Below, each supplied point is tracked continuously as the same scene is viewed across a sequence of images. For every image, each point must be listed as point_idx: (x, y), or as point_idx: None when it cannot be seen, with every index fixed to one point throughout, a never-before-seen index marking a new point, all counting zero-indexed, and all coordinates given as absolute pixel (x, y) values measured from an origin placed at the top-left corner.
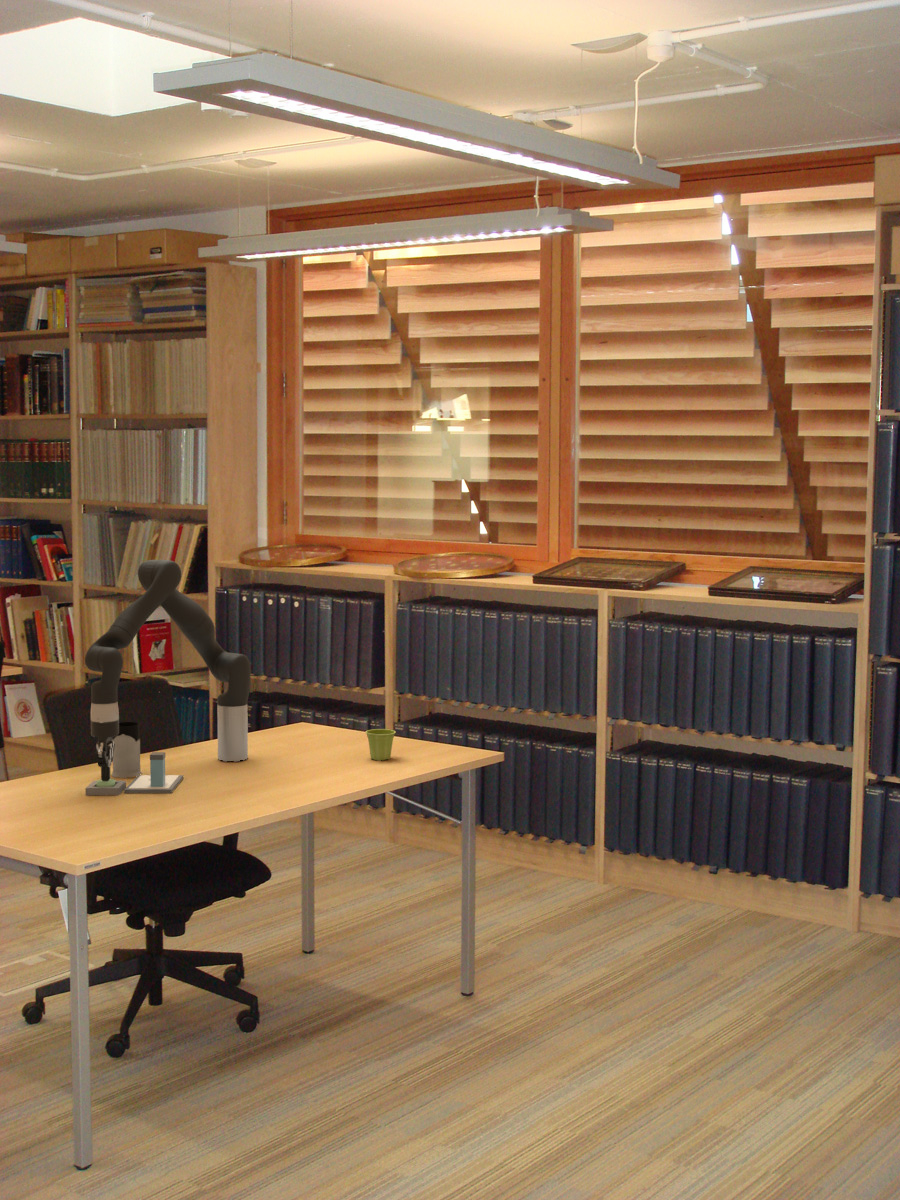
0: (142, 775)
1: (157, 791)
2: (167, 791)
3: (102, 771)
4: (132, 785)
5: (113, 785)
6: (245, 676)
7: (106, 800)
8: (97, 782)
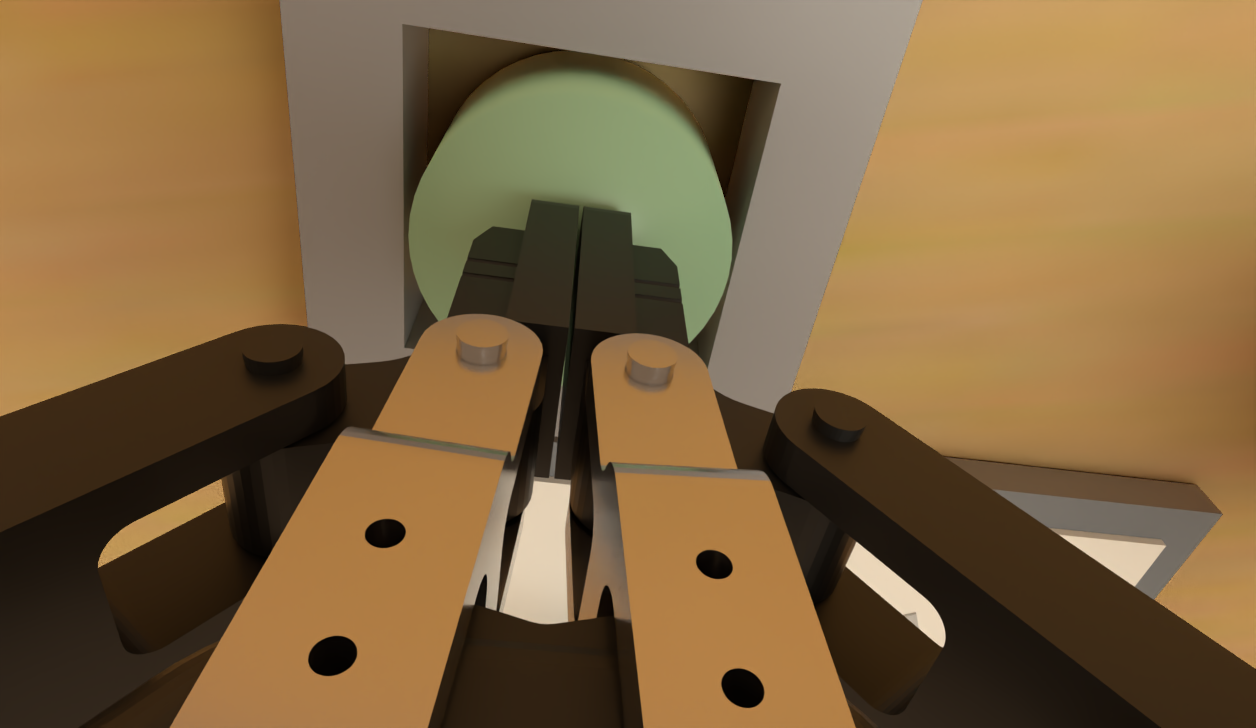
0: (1140, 558)
1: None
2: None
3: (454, 310)
4: None
5: None
6: None
7: (40, 234)
8: (476, 117)
